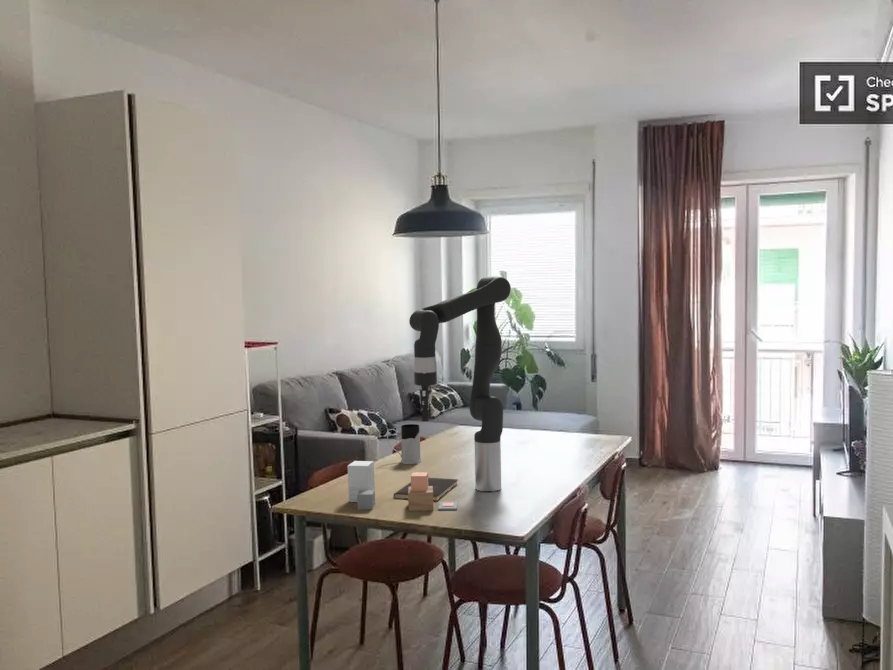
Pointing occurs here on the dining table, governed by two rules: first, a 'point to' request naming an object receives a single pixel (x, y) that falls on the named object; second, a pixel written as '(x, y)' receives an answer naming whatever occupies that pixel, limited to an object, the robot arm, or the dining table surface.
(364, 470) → the supplement box
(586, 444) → the dining table surface
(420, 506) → the walnut base block
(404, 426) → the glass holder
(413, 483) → the terracotta block
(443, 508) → the card
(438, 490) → the hardcover book
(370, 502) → the grey cube
